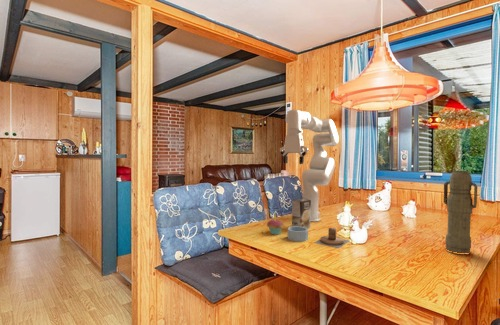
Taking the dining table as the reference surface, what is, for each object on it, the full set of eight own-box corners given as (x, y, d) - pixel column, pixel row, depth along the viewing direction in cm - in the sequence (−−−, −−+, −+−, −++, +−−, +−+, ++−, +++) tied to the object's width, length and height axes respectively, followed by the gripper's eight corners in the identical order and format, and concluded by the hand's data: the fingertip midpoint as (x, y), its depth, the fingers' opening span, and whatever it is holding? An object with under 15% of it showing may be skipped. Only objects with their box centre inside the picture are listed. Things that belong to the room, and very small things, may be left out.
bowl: (294, 235, 148) (294, 225, 148) (311, 238, 142) (311, 228, 142) (284, 239, 140) (284, 229, 140) (301, 243, 134) (301, 232, 134)
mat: (326, 236, 146) (326, 235, 146) (349, 241, 138) (349, 240, 138) (313, 243, 135) (313, 242, 135) (338, 249, 127) (338, 248, 127)
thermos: (444, 246, 133) (447, 170, 131) (476, 252, 124) (479, 171, 123) (438, 250, 127) (441, 170, 125) (472, 257, 118) (475, 172, 117)
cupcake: (282, 236, 146) (282, 212, 145) (265, 235, 147) (265, 211, 147) (283, 231, 154) (284, 209, 154) (268, 230, 156) (268, 208, 155)
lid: (326, 236, 144) (326, 224, 144) (347, 241, 137) (347, 228, 137) (316, 241, 136) (316, 228, 135) (338, 246, 129) (338, 233, 129)
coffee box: (301, 231, 155) (301, 201, 154) (291, 229, 159) (291, 200, 159) (310, 228, 161) (311, 199, 160) (301, 226, 166) (301, 198, 165)
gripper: (311, 132, 158) (310, 164, 158) (283, 133, 168) (283, 162, 168) (305, 131, 152) (304, 164, 152) (276, 132, 162) (276, 163, 162)
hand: (293, 163), depth 160 cm, fingers open, 9 cm apart
